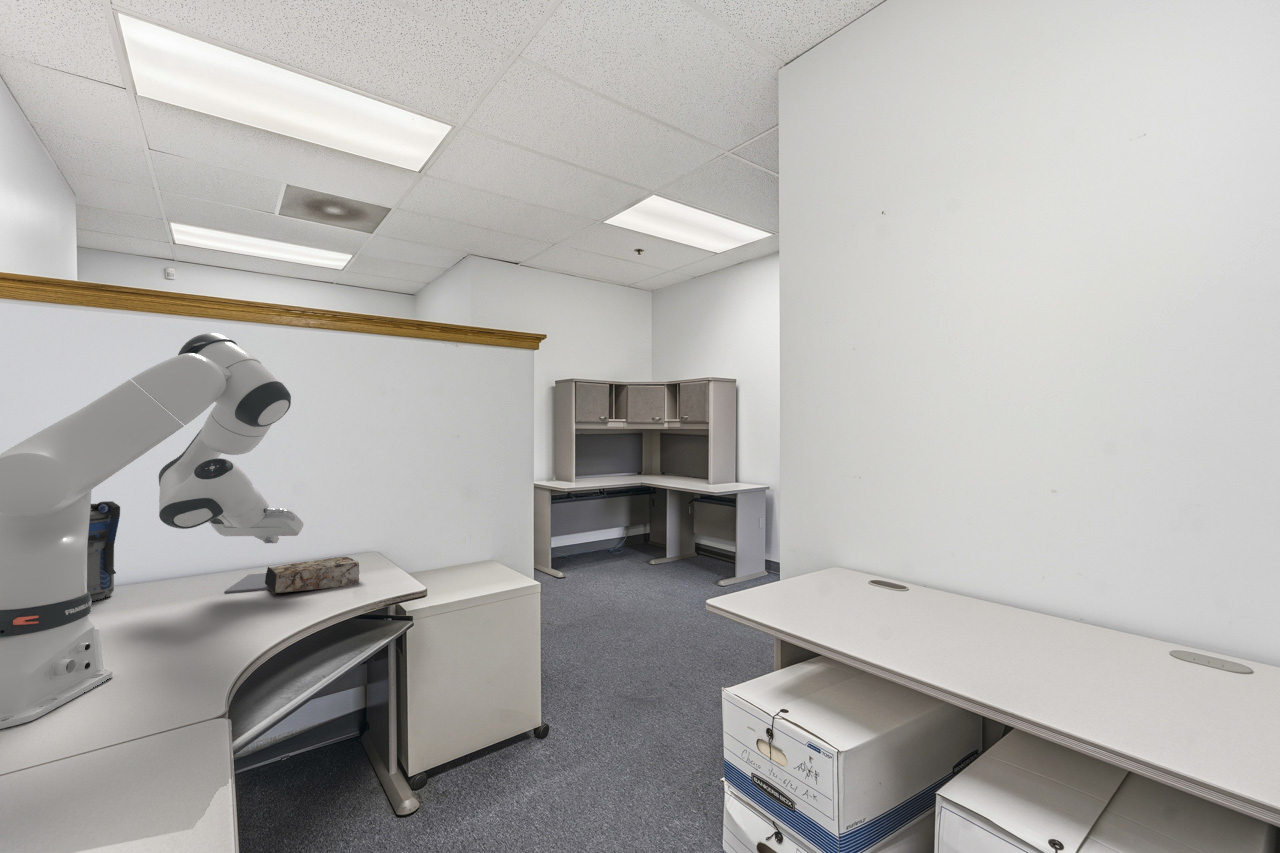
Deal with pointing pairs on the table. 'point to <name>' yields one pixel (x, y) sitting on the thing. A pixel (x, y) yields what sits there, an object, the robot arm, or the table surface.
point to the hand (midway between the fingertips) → (272, 541)
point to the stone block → (313, 575)
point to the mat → (249, 584)
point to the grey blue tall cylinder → (101, 549)
